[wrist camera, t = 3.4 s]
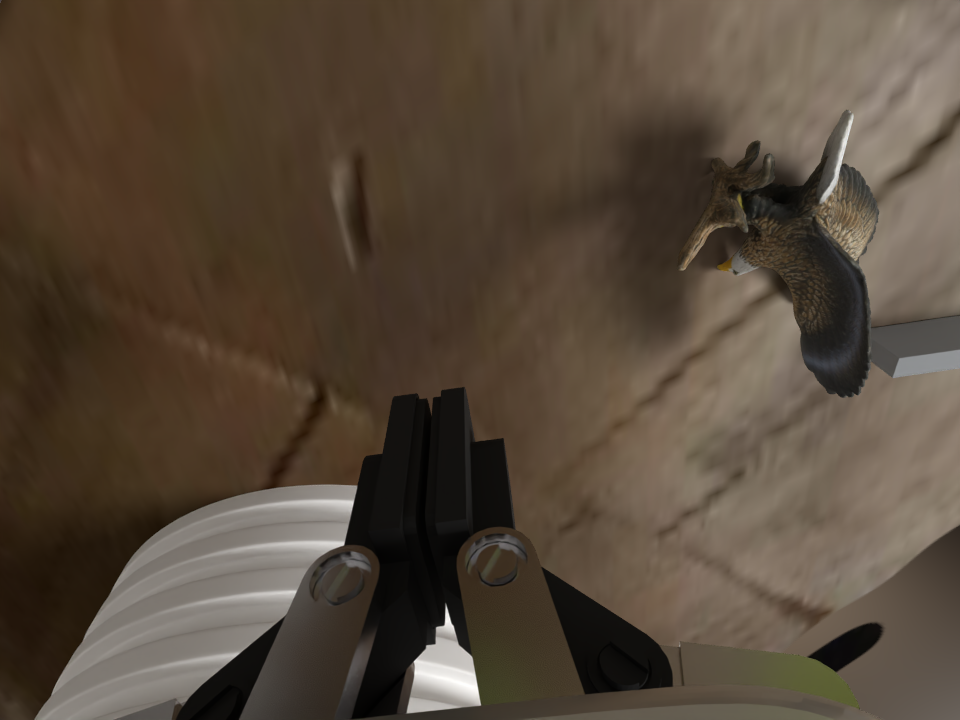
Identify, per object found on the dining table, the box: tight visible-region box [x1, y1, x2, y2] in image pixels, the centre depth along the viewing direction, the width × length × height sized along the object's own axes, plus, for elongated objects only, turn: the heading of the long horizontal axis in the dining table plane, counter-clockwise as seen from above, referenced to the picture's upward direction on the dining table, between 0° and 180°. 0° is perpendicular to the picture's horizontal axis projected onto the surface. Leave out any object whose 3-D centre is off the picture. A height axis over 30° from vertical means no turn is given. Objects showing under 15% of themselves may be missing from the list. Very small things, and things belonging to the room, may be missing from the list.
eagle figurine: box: [677, 110, 879, 398], centre depth 19 cm, size 8×7×9 cm
